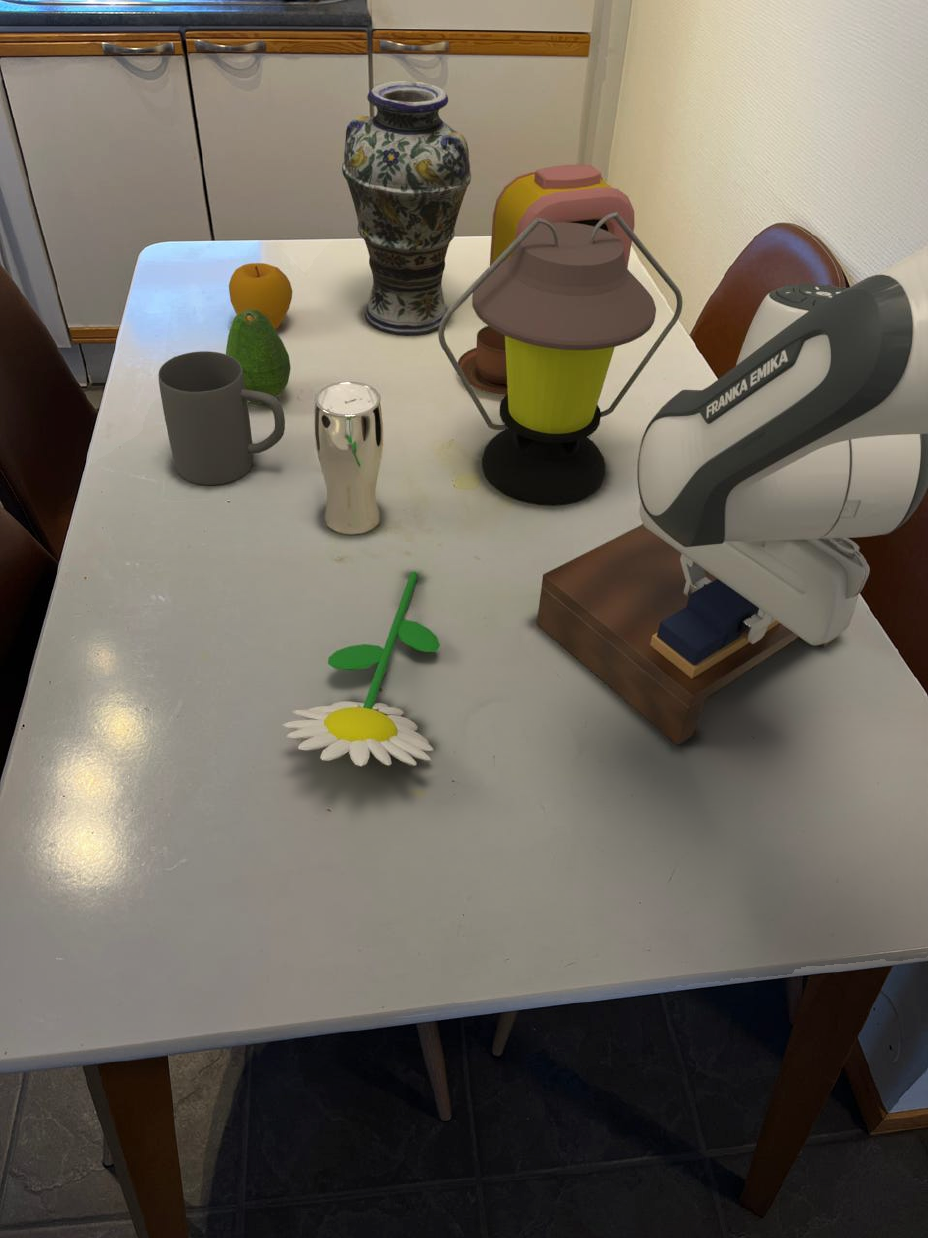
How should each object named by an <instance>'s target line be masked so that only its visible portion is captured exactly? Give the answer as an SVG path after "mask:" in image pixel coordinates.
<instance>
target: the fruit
mask: <svg viewBox="0 0 928 1238" xmlns="http://www.w3.org/2000/svg"><path fill="white" fill-rule="evenodd" d="M225 350H226V351H225V354H226V355H229V356H231V357H233V358H234V359H236V360H237V361H238V362H239V363H240V365H241V367H242V370H243V375H244V381H245V387H246V390H252V391H258V392H263V393H266V394H269V395H272V396H274V397H275V398H276V399H278V397H280V396H281V395H282V394H283V392H284V391H285V389H286V387H287V385H288V383H289V379H290V374H291V369H292V368H291V361H290V355H289V353H288V351H287V348H286V346H285V344H284V341H283V340H282V339H281V337H280V336H279V334H278V332H277V329H274V327H273V326H272V324H271V323H270V321H269V319H268V318H267V317H266V316H264V315H263V314H262V313H261V312H259V311H257V310H246V311H244V312H241V313H239V314H235V316H234V318H233V319H232V322H231V325H230V327H229V332H228V336H227V342H226V348H225ZM247 402H248V403H250V404H251V403H252V404H255V405H258V404H265V403H264V402H260V401H254V400H247Z"/></svg>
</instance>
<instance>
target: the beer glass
mask: <svg viewBox="0 0 928 1238" xmlns="http://www.w3.org/2000/svg"><path fill="white" fill-rule="evenodd" d="M381 400H382V399H381V394H380V393H379V391H378V390H377V389H376V388H374V387H373V386H370V385H368V384H366V383H362V382H357V381H338V382H334V383H333V382H332V383H329V384H328V385H325V386H323V387H322V388H320V389H319V390H318V391H317V392H316V394H315V395H314V440H315V441H314V442H315V449H316V454H317V458H318V462H319V465H320V469H321V473H322V476H323V480H324V484H325V490H326V504H325V510H324V521H325V523H326V525H327V526H328V528H329V529H331V530H333V531H334V532H337V533H338V534H342V535H348V536H349V535H351V536H353V535H355V536H356V535H361V534H365V533H368V532H370V531H372V530H374V529H375V528H376V527H377V526H378V525H379V523H380V521H381V513H380V508H379V504H378V500H377V483H378V478H379V473H380V467H381V462H382V457H383V456H382V455H383V449H384V422H383V412H382V403H381V402H382V401H381Z"/></svg>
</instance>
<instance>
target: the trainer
mask: <svg viewBox="0 0 928 1238" xmlns="http://www.w3.org/2000/svg"><path fill="white" fill-rule="evenodd" d="M758 611H759V608H758V607H757V606H755V605H754V604H753V603H751V602H750V601H748V600H747V599H746V598H744V597H743V596H741V595H740V594H739V593H737V592H736V591H734V590H733V589H731V588H730V587H729V586H727V585H726V584H724V583H723V582H722V581H720V580H719V579H716V580H715V581H713V582H711V583H709V584H708V585H706V586H704V587H702V588H701V589H699V590H697V591H695V592H694V593H692V594H690V595H689V599H688V602H687V606H686V607H685V608H684V609H682V610H680V611H678V612H677V613H675V614H673V615H671V616H670V617H668V618H666V619H665V620H663V621H661V622H660V625H659V629H658V633H656V634H654V635H653V636H652V639H651V643H650V646H652V647H653V648H654V649H655V650H657V651H658V652H659V653H660V654H662V655H663V656H664V657H665V658H667V659H668V660H669V661H670V662H672V663H673V664H674V665H675V666H677V667H678V668H679V669H680V670H682V671H683V672H684V673H685V674H687V675H688V676H689V677H690V678H692V679H693V678H694V677H696V676H697V675H699V674H700V673H702V672H704V671H705V670H707V669H708V668H710V667H711V666H713V665H715V664H716V663H718V662H719V661H721V660H723V659H724V658H726V657H727V656H729V655H730V654H732V653H734V652H735V651H737V650H738V649H740V648H741V647H743V646H745V645H746V644H748V643H749V641H748V640H746V639H745V638H743V637H742V636H741V635H740V634H739V630H741V624H742V621H744V620H745V619H747V618H750V617H751V616H752V615H753V614H755V613H757V614H758ZM778 624H779V622H778V621H777V620H776V621H775V622H773V623H771V624H770V625H768V627H767V630H766V632H767V631H768V630H770V629H772V628H773V627H775V626H776V625H778Z"/></svg>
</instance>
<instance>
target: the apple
mask: <svg viewBox="0 0 928 1238" xmlns="http://www.w3.org/2000/svg"><path fill="white" fill-rule="evenodd" d="M228 291H229V292H228V294H229V299H230V303H231V305H232V307H233V310H234V313H235V315H237V314H239V313H241V312H244V311H246V310H257V311H259V312H261V313H262V314H263V315H264V316H266V317H267V318H268V319H269V321H270V323H271V324H272V326H273V327H274V329H275V330H277V329H278V328H279V327H280V326H281V325H282V324H283V322H284V320H285V318H286V316H287V314H288V311H289V309H290V306H291V303H292V299H293V287H292V283H291V281H290V280H289V278H288V276H287V275H286V274H285V273H284V272H283V271H282V270H281V269H280V268H279V267H277V266H274V265H271V264H268V263H262V262H255V263H254V262H252V263H246V264H242V265H241V266H239V267H237V268H236V269H235V270H234V271H233V273H232V275H231V277H230V280H229V283H228Z"/></svg>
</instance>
